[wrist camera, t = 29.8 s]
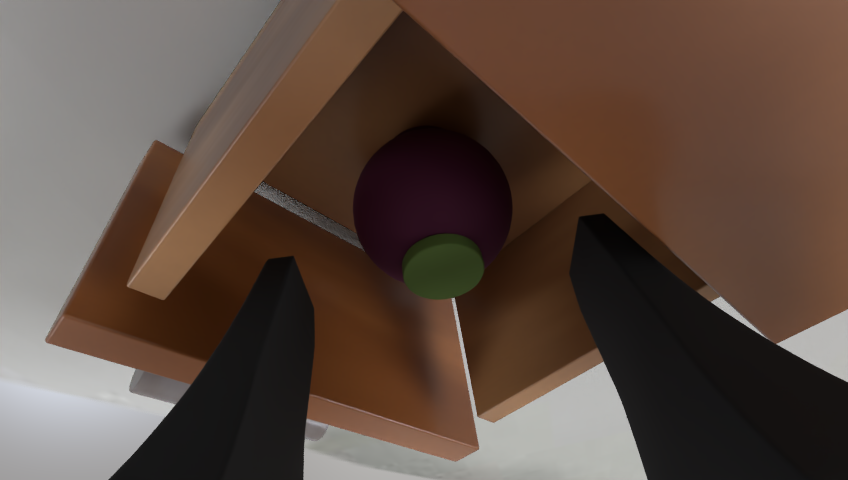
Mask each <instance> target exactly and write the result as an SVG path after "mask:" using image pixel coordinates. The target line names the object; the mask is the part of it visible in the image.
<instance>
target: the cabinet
mask: <svg viewBox="0 0 848 480" xmlns="http://www.w3.org/2000/svg"><path fill="white" fill-rule="evenodd" d="M392 1H393V2H394V3H395V4H396V5H398V6H399V7H400V8H401V9H402V10H403V11H404V12H405V13H406V14H408V15H409V16H410V17H411V18H412V19H413V20H414V21H415V22H416V23H418V24H419V25H420V26H421V27H422V28H423V29H424V30H425V31H426V32H428V33H429V34H430V35H431V36H432V37H433V38H434V39H435V40H436V41H438V42H439V43H440V44H441V45H442V46H443V47H444V48H445V49H446V50H448V51H449V52H450V53H451V54H452V55H453V56H454V57H455V58H456V59H458V60H459V61H460V62H461V63H462V64H463V65H464V66H465V67H466V68H468V69H469V70H470V71H471V72H472V73H473V74H474V75H475V76H476V77H478V78H479V79H480V80H481V81H482V82H483V83H484V84H485V85H486V86H488V87H489V88H490V89H491V90H492V91H493V92H494V93H495V94H496V95H498V96H499V97H500V98H501V99H502V100H503V101H504V102H505V103H506V104H508V105H509V106H510V107H511V108H512V109H513V110H514V111H515V112H516V113H518V114H519V115H520V116H521V117H522V118H523V119H524V120H525V121H526V122H528V123H529V124H530V125H531V126H532V127H533V128H534V129H535V130H536V131H537V132H539V133H540V134H541V135H542V136H543V137H544V138H545V139H546V140H547V141H549V142H550V143H551V144H552V145H553V146H554V147H555V148H556V149H557V150H559V151H560V152H561V153H562V154H563V155H564V156H565V157H566V158H567V159H569V160H570V161H571V162H572V163H573V164H574V165H575V166H576V167H577V168H579V169H580V170H581V171H582V172H583V173H584V174H585V175H586V176H587V177H589V178H590V179H591V180H592V181H593V182H594V183H595V184H596V185H597V186H599V187H600V188H601V189H602V190H603V191H604V192H605V193H606V194H607V195H609V196H610V197H611V198H612V199H613V200H614V201H615V202H616V203H617V204H619V205H620V206H621V207H622V208H623V209H624V210H625V211H626V212H627V213H629V214H630V215H631V216H632V217H633V218H634V219H635V220H636V221H637V222H639V223H640V224H641V225H642V226H643V227H644V228H645V229H646V230H647V231H649V232H650V233H651V234H652V235H653V236H654V237H655V238H656V239H657V240H659V241H660V242H661V243H662V244H663V245H664V246H665V247H666V248H667V249H669V250H670V251H671V252H672V253H673V254H674V255H675V256H676V257H677V258H679V259H680V260H681V261H682V262H683V263H684V264H685V265H686V266H687V267H689V268H690V269H691V270H692V271H693V272H694V273H695V274H696V275H697V276H698V277H700V278H701V279H702V280H703V281H704V282H705V283H706V284H707V285H708V286H710V287H711V288H712V289H713V290H714V291H715V292H716V293H717V294H718V295H720V296H721V297H722V298H723V299H724V300H725V301H726V302H727V303H728V304H730V305H731V306H732V307H733V308H734V309H735V310H736V311H737V312H738V313H740V314H741V315H742V316H743V317H744V318H745V319H746V320H747V321H748V322H750V323H751V324H752V325H753V326H754V327H755V328H756V329H757V330H758V331H760V332H761V333H762V334H763V335H764V336H765V337H766V338H767V339H768V340H770V341H771V342H773V343H775V344H777V343H779V342H781V341H783V340H785V339H787V338H789V337H791V336H793V335H795V334H797V333H800V332H802V331H804V330H806V329H808V328H810V327H812V326H814V325H816V324H818V323H820V322H822V321H824V320H826V319H828V318H830V317H833V316H835V315H837V314H839V313H841V312H843V311H845V310H847V309H848V0H392Z"/></svg>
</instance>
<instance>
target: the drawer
mask: <svg viewBox="0 0 848 480" xmlns="http://www.w3.org/2000/svg"><path fill="white" fill-rule="evenodd" d="M417 126H436V127H440V128H443V129H446V130H451V131H455V132H458V133H461V134H464V135H466V136H468V137H470V138H472V139H473V140H475V141H476V142H478V143H479V144H481V145H482V146H483V147H485V148H486V149H487V150H488V151H489V152H490V153H491V154H492V155H493V157H494V158H495V159H496V160H497V162H498V163H499V164H500V166H501V168H502V169H503V171H504V173H505V175H506V177H507V180H508V183H509V186H510V190H511V195H512V205H513V214H512V221H511V227H510V230H509V233H508V236H507V239H506V242H505V244H504V245H503V247H502V249H501V251H500V252H499V254H498V255H497V257H496V258H495V259H494V260H493V261H492V263H491V264H490V265H489V266H488V267H486V268H485V269H484V273H483V276H482V278H481V280H480V281H479V283H478V284H477V285H476V286H475V287H474V288H473V289H471V290H470V291H468V292H466V293H465V294H462V295H460V296H457V297H455V301H456V306H457V311H458V317H459V322H460V327H461V332H462V338H463V343H464V348H465V353H466V358H467V364H468V369H469V374H470V379H471V384H472V390H473V395H474V400H475V405H476V411H477V416H478V417H479V418H482V419H485V420H487V421H490V422H496V421H498V420H500V419H501V418H503V417H505V416H507V415H508V414H510V413H512V412H514V411H516V410H517V409H519V408H521V407H523V406H525V405H526V404H528V403H530V402H532V401H534V400H535V399H537V398H539V397H541V396H543V395H544V394H546V393H548V392H550V391H552V390H553V389H555V388H557V387H559V386H560V385H562V384H564V383H566V382H568V381H569V380H571V379H573V378H575V377H577V376H578V375H580V374H582V373H584V372H586V371H587V370H589V369H591V368H593V367H595V366H596V365H598V364H600V363H602V362H603V359H602V357H601V354H600V352H599V350H598V348H597V346H596V344H595V341H594V339H593V337H592V335H591V333H590V330H589V328H588V326H587V324H586V322H585V319H584V317H583V315H582V313H581V310H580V307H579V304H578V301H577V298H576V295H575V292H574V289H573V285H572V282H571V278H570V275H569V271H570V265H571V259H572V253H573V247H574V242H575V236H576V230H577V224H578V219H579V217H580V216H587V215H594V214H602V213H604V214H605V215H606V216H608V217H609V218H610V219H611V220H612V221H613V222H614V223H616V224H617V225H618V226H619V227H620V228H621V229H622V230H623V231H625V232H626V233H627V234H628V235H629V236H630V237H631V238H632V239H633V240H635V241H636V242H637V243H638V244H639V245H640V246H641V247H643V248H644V249H645V250H646V251H647V252H648V253H649V254H651V255H652V256H653V257H654V258H655V259H656V260H658V261H659V262H660V263H661V264H662V265H664V266H665V267H666V268H667V269H668V270H670V271H671V272H672V273H673V274H675V275H676V276H677V277H678V278H679V279H681V280H682V281H683V282H685V283H686V284H687V285H688V286H690V287H691V288H692V289H694V290H695V291H696V292H698V293H699V294H700V295H702V296H703V297H704V298H706V299H707V300H708V301H710V302H711V301H713V300H715V299H716V298H718V297H720V295H718V294H717V293H716V292H715V291H714V290H713V289H712V288H711V287H710V286H708V285H707V284H706V283H705V282H704V281H703V280H702V279H701V278H700V277H698V276H697V275H696V274H695V273H694V272H693V271H692V270H691V269H690V268H689V267H687V266H686V265H685V264H684V263H683V262H682V261H681V260H680V259H679V258H677V257H676V256H675V255H674V254H673V253H672V252H671V251H670V250H669V249H667V248H666V247H665V246H664V245H663V244H662V243H661V242H660V241H659V240H657V239H656V238H655V237H654V236H653V235H652V234H651V233H650V232H649V231H647V230H646V229H645V228H644V227H643V226H642V225H641V224H640V223H639V222H637V221H636V220H635V219H634V218H633V217H632V216H631V215H630V214H629V213H627V212H626V211H625V210H624V209H623V208H622V207H621V206H620V205H619V204H617V203H616V202H615V201H614V200H613V199H612V198H611V197H610V196H609V195H607V194H606V193H605V192H604V191H603V190H602V189H601V188H600V187H599V186H597V185H596V184H595V183H594V182H593V181H592V180H591V179H590V178H589V177H587V176H586V175H585V174H584V173H583V172H582V171H581V170H580V169H579V168H577V167H576V166H575V165H574V164H573V163H572V162H571V161H570V160H569V159H567V158H566V157H565V156H564V155H563V154H562V153H561V152H560V151H559V150H557V149H556V148H555V147H554V146H553V145H552V144H551V143H550V142H549V141H547V140H546V139H545V138H544V137H543V136H542V135H541V134H540V133H539V132H537V131H536V130H535V129H534V128H533V127H532V126H531V125H530V124H529V123H528V122H526V121H525V120H524V119H523V118H522V117H521V116H520V115H519V114H518V113H516V112H515V111H514V110H513V109H512V108H511V107H510V106H509V105H508V104H506V103H505V102H504V101H503V100H502V99H501V98H500V97H499V96H498V95H496V94H495V93H494V92H493V91H492V90H491V89H490V88H489V87H488V86H486V85H485V84H484V83H483V82H482V81H481V80H480V79H479V78H478V77H476V76H475V75H474V74H473V73H472V72H471V71H470V70H469V69H468V68H466V67H465V66H464V65H463V64H462V63H461V62H460V61H459V60H458V59H456V58H455V57H454V56H453V55H452V54H451V53H450V52H449V51H448V50H446V49H445V48H444V47H443V46H442V45H441V44H440V43H439V42H438V41H436V40H435V39H434V38H433V37H432V36H431V35H430V34H429V33H428V32H426V31H425V30H424V29H423V28H422V27H421V26H420V25H419V24H418V23H416V22H415V21H414V20H413V19H412V18H411V17H410V16H409V15H408V14H406V13H405V12H404V11H403V10H402V9H401V8H400V7H399V6H398V5H396V4H395V3H394V2H393V1H392V0H281V1H280V2H279V4H278V5H277V7H276V8H275V10H274V11H273V13H272V14H271V16H270V17H269V19H268V20H267V22H266V23H265V25H264V26H263V28H262V29H261V31H260V32H259V34H258V35H257V37H256V38H255V40H254V41H253V43H252V44H251V45H250V47H249V48H248V50H247V51H246V53H245V54H244V56H243V57H242V59H241V60H240V62H239V63H238V65H237V66H236V68H235V69H234V71H233V72H232V74H231V75H230V77H229V78H228V80H227V81H226V83H225V84H224V86H223V87H222V89H221V90H220V91H219V93H218V94H217V96H216V97H215V99H214V100H213V102H212V103H211V105H210V106H209V108H208V109H207V111H206V112H205V114H204V115H203V117H202V118H201V120H200V121H199V123H198V124H197V126H196V127H195V130H194V132H193V134H192V136H191V140H190V141H189V143H188V145H187V148H186V150H185V152H184V154H182V153H180V152H178V151H176V150H175V149H173V148H171V147H169V146H167V145H165V144H163V143H161V142H160V141H158V140H155V141H154V142H153V143H152V145H151V147H150V148H149V150H148V151H147V153H146V155H145V156H144V158H143V159H142V161H141V163H140V164H139V166H138V168H137V170H136V172H135V173H134V175H133V177H132V179H131V181H130V183H129V185H128V186H127V188H126V190H125V192H124V194H123V196H122V198H121V199H120V201H119V203H118V205H117V207H116V209H115V211H114V212H113V214H112V216H111V218H110V220H109V222H108V224H107V225H106V227H105V229H104V231H103V233H102V235H101V237H100V238H99V240H98V242H97V244H96V246H95V248H94V250H93V251H92V253H91V255H90V257H89V259H88V261H87V262H86V264H85V266H84V268H83V270H82V272H81V274H80V275H79V277H78V279H77V281H76V283H75V285H74V287H73V288H72V290H71V292H70V294H69V296H68V298H67V300H66V301H65V303H64V305H63V307H62V309H61V311H60V313H59V314H58V316H57V318H56V320H55V322H54V324H53V326H52V327H51V329H50V331H49V333H48V335H47V337H46V339H45V341H46V342H47V343H49V344H53V345H56V346H59V347H63V348H66V349H70V350H73V351H77V352H80V353H84V354H87V355H90V356H94V357H97V358H101V359H104V360H108V361H111V362H114V363H118V364H121V365H125V366H128V367H132V368H135V369H136V370H135V372H134V375H133V377H132V380H131V383H130V388H129V391H130V392H131V393H135V394H139V395H143V396H146V397H150V398H154V399H158V400H161V401H165V402H169V403H173V404H176V403H177V402H178V401H179V400H180V398H181V397H182V396H183V395H184V393H185V392H186V391H187V389H188V388H189V387H190V385H191V384H192V383H193V381H194V380H195V378H196V377H197V376H198V374H199V373H200V371H201V370H202V369H203V367H204V366H205V364H206V363H207V361H208V360H209V358H210V357H211V355H212V354H213V352H214V351H215V349H216V348H217V346H218V345H219V343H220V342H221V340H222V338H223V337H224V335H225V334H226V332H227V330H228V329H229V327H230V325H231V324H232V322H233V320H234V318H235V317H236V315H237V313H238V312H239V310H240V308H241V307H242V305H243V303H244V301H245V300H246V298H247V296H248V294H249V292H250V291H251V289H252V287H253V285H254V283H255V281H256V279H257V277H258V276H259V274H260V272H261V270H262V268H263V266H264V264H265V263H266V261H267V260H268V259H272V258H279V257H287V256H294V258H295V260H296V263H297V266H298V268H299V271H300V273H301V276H302V278H303V281H304V283H305V286H306V289H307V291H308V294H309V296H310V299H311V301H312V304H313V306H314V317H315V349H314V359H313V368H312V377H311V385H310V394H309V403H308V411H307V420H306V429H305V439H308V440H312V441H317V440H319V439H321V438H322V437H323V435H324V434H325V432H326V430H327V428H328V425H331V426H334V427H338V428H341V429H345V430H348V431H352V432H355V433H359V434H362V435H365V436H369V437H372V438H376V439H379V440H383V441H386V442H389V443H393V444H396V445H400V446H403V447H407V448H410V449H414V450H417V451H420V452H424V453H427V454H431V455H434V456H438V457H441V458H444V459H448V460H451V461H455V462H456V461H458V460H460V459H462V458H464V457H466V456H467V455H469V454H471V453H473V452H475V451H477V450H478V449H479V445H478V439H477V434H476V428H475V423H474V418H473V412H472V407H471V401H470V396H469V391H468V385H467V380H466V374H465V369H464V364H463V358H462V353H461V347H460V342H459V337H458V331H457V326H456V320H455V315H454V310H453V304H452V299H451V298H450V299H442V300H434V299H427V298H423V297H420V296H418V295H416V294H414V293H413V292H412V291H410V290H409V288H408V287H407V286H406V284H405V283H403V282H400V281H398V280H396V279H394V278H392V277H390V276H389V275H388V274H386V273H385V272H384V271H382V270H381V269H380V268H379V267H378V266H377V265H376V264H375V263H374V262H373V261H372V260H371V259H370V257H369V256H368V255H367V253H366V252H365V251H363V250H361V249H360V248H358V247H356V246H354V245H352V244H350V243H348V242H346V241H345V240H343V239H341V238H339V237H337V236H335V235H333V234H332V233H330V232H328V231H326V230H324V229H322V228H320V227H318V226H317V225H315V224H313V223H311V222H309V221H307V220H305V219H303V218H302V217H300V216H298V215H296V214H294V213H292V212H290V211H289V210H287V209H285V208H283V207H281V206H279V205H277V204H275V203H274V202H272V201H270V200H268V199H266V198H264V197H262V196H260V195H259V194H257V193H255V192H254V191H255V190H256V188H257V187H258V186H259V185H260V184H261V182H262V181H263V182H265V183H267V184H269V185H270V186H272V187H274V188H276V189H278V190H279V191H281V192H283V193H285V194H287V195H288V196H290V197H292V198H294V199H296V200H297V201H299V202H301V203H303V204H305V205H306V206H308V207H310V208H312V209H314V210H316V211H317V212H319V213H321V214H323V215H325V216H326V217H328V218H330V219H332V220H334V221H335V222H337V223H339V224H341V225H343V226H344V227H346V228H348V229H350V230H352V231H353V232H355V233H357V232H356V229H355V225H354V218H353V198H354V192H355V188H356V185H357V182H358V179H359V177H360V174H361V172H362V170H363V169H364V167H365V165H366V164H367V162H368V161H369V160H370V158H371V157H372V156H373V155H374V154H375V153H376V152H377V151H378V150H379V149H380V148H381V147H382V146H383V145H385V144H386V143H388V142H389V141H390V140H392V139H394V138H395V137H396V136H397V135H398V134H400V133H401V132H403V131H405V130H407V129H410V128H413V127H417Z"/></svg>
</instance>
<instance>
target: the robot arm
mask: <svg viewBox="0 0 848 480" xmlns="http://www.w3.org/2000/svg"><path fill="white" fill-rule="evenodd" d="M569 275H570V278H571V282H572V285H573V289H574V292H575V295H576V298H577V301H578V304H579V307H580V310H581V313H582V315H583V317H584V319H585V322H586V324H587V326H588V328H589V330H590V333H591V335H592V337H593V339H594V341H595V344H596V346H597V348H598V350H599V352H600V354H601V357H602V359H603V361H604V363H605V365H606V367H607V369H608V372H609V374H610V376H611V378H612V380H613V382H614V385H615V387H616V389H617V392H618V394H619V396H620V399H621V401H622V404H623V406H624V409H625V412H626V415H627V418H628V421H629V424H630V427H631V430H632V433H633V436H634V438H635V441H636V444H637V448H638V451H639V454H640V457H641V460H642V463H643V466H644V469H645V473H646V476H647V479H648V480H848V382H846V381H844V380H842V379H840V378H838V377H836V376H834V375H832V374H830V373H828V372H826V371H824V370H822V369H820V368H818V367H816V366H814V365H812V364H810V363H809V362H807V361H805V360H803V359H801V358H800V357H798V356H796V355H794V354H792V353H791V352H789V351H787V350H785V349H784V348H782V347H780V346H778V345H776V344H775V343H773V342H771V341H770V340H768V339H766V338H765V337H763V336H761V335H760V334H758V333H756V332H755V331H753V330H752V329H750V328H749V327H747V326H746V325H744V324H742V323H741V322H739V321H738V320H736V319H735V318H733V317H732V316H730V315H729V314H727V313H726V312H724V311H723V310H721V309H720V308H718V307H717V306H715V305H714V304H713V303H711V302H710V301H708V300H707V299H706V298H704V297H703V296H702V295H700V294H699V293H698V292H696V291H695V290H694V289H692V288H691V287H690V286H688V285H687V284H686V283H685V282H683V281H682V280H681V279H679V278H678V277H677V276H676V275H675V274H673V273H672V272H671V271H670V270H668V269H667V268H666V267H665V266H664V265H662V264H661V263H660V262H659V261H658V260H656V259H655V258H654V257H653V256H652V255H651V254H649V253H648V252H647V251H646V250H645V249H644V248H643V247H641V246H640V245H639V244H638V243H637V242H636V241H635V240H633V239H632V238H631V237H630V236H629V235H628V234H627V233H626V232H625V231H623V230H622V229H621V228H620V227H619V226H618V225H617V224H616V223H614V222H613V221H612V220H611V219H610V218H609V217H608V216H606V215H605V214H604V213H602V214H594V215H587V216H580V217H579V219H578V224H577V230H576V236H575V242H574V247H573V253H572V259H571V265H570V271H569ZM314 349H315V317H314V306H313V304H312V301H311V299H310V296H309V294H308V291H307V289H306V286H305V283H304V281H303V278H302V276H301V273H300V271H299V268H298V266H297V263H296V260H295V258H294V256H287V257H279V258H272V259H268V260H267V261H266V263H265V264H264V266H263V268H262V270H261V272H260V274H259V276H258V277H257V279H256V281H255V283H254V285H253V287H252V289H251V291H250V292H249V294H248V296H247V298H246V300H245V301H244V303H243V305H242V307H241V308H240V310H239V312H238V313H237V315H236V317H235V318H234V320H233V322H232V324H231V325H230V327H229V329H228V330H227V332H226V334H225V335H224V337H223V338H222V340H221V342H220V343H219V345H218V346H217V348H216V349H215V351H214V352H213V354H212V355H211V357H210V358H209V360H208V361H207V363H206V364H205V366H204V367H203V369H202V370H201V371H200V373H199V374H198V376H197V377H196V378H195V380H194V381H193V383H192V384H191V385H190V387H189V388H188V389H187V391H186V392H185V393H184V395H183V396H182V397H181V398H180V400H179V401H178V402H177V403H176V405H175V406H174V407H173V409H172V410H171V411H170V412H169V413H168V415H167V416H166V417H165V418H164V419H163V421H162V422H161V423H160V424H159V425H158V427H157V428H156V429H155V430H154V431H153V432H152V434H151V435H150V436H149V437H148V438H147V439H146V441H145V442H144V443H143V444H142V445H141V446H140V447H139V448H138V450H137V451H136V452H135V453H134V454H133V455H132V456H131V457H130V458H129V459H128V460H127V461H126V462H125V463H124V464H123V465H122V466H121V467H120V469H119V470H118V471H117V472H116V473H115V474H114V475H113V476H112V477H111V478H110V479H109V480H303V466H304V440H305V429H306V420H307V411H308V403H309V394H310V385H311V377H312V368H313V359H314Z"/></svg>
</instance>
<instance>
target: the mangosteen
mask: <svg viewBox="0 0 848 480" xmlns="http://www.w3.org/2000/svg"><path fill="white" fill-rule="evenodd" d="M512 214H513V205H512V195H511V190H510V186H509V183H508V180H507V177H506V175H505V173H504V171H503V169H502V168H501V166H500V164H499V163H498V162H497V160H496V159H495V158H494V157H493V155H492V154H491V153H490V152H489V151H488V150H487V149H486V148H485V147H483V146H482V145H481V144H479V143H478V142H476V141H475V140H473V139H472V138H470V137H468V136H466V135H464V134H461V133H458V132H455V131H451V130H446V129H443V128H440V127H436V126H417V127H413V128H410V129H407V130H405V131H403V132H401V133H400V134H398V135H397V136H396V137H395V138H394V139H392V140H390V141H389V142H388V143H386V144H385V145H383V146H382V147H381V148H380V149H379V150H378V151H377V152H376V153H375V154H374V155H373V156H372V157H371V158H370V160H369V161H368V162H367V164H366V165H365V167H364V169H363V170H362V172H361V174H360V177H359V179H358V182H357V185H356V188H355V192H354V198H353V218H354V225H355V229H356V232H357V235H358V238H359V241H360V243H361V245H362V247H363V248H364V250H365V252H366V253H367V255H368V256H369V257H370V259H371V260H372V261H373V262H374V263H375V264H376V265H377V266H378V267H379V268H380V269H381V270H382V271H384V272H385V273H386V274H388V275H389V276H390V277H392V278H394V279H396V280H398V281H400V282H403V283H405V284H406V286H407V287H408V288H409V290H410V291H412V292H413V293H414V294H416V295H418V296H420V297H423V298H427V299H434V300H442V299H450V298H454V297H457V296H460V295H462V294H465V293H466V292H468V291H470V290H471V289H473V288H474V287H475V286H476V285H477V284H478V283H479V281H480V280H481V278H482V276H483V273H484V269H485V268H486V267H488V266H489V265H490V264H491V263H492V261H493V260H494V259H495V258H496V257H497V255H498V254H499V252H500V251H501V249H502V247H503V245H504V244H505V242H506V239H507V236H508V233H509V230H510V227H511V221H512Z"/></svg>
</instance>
